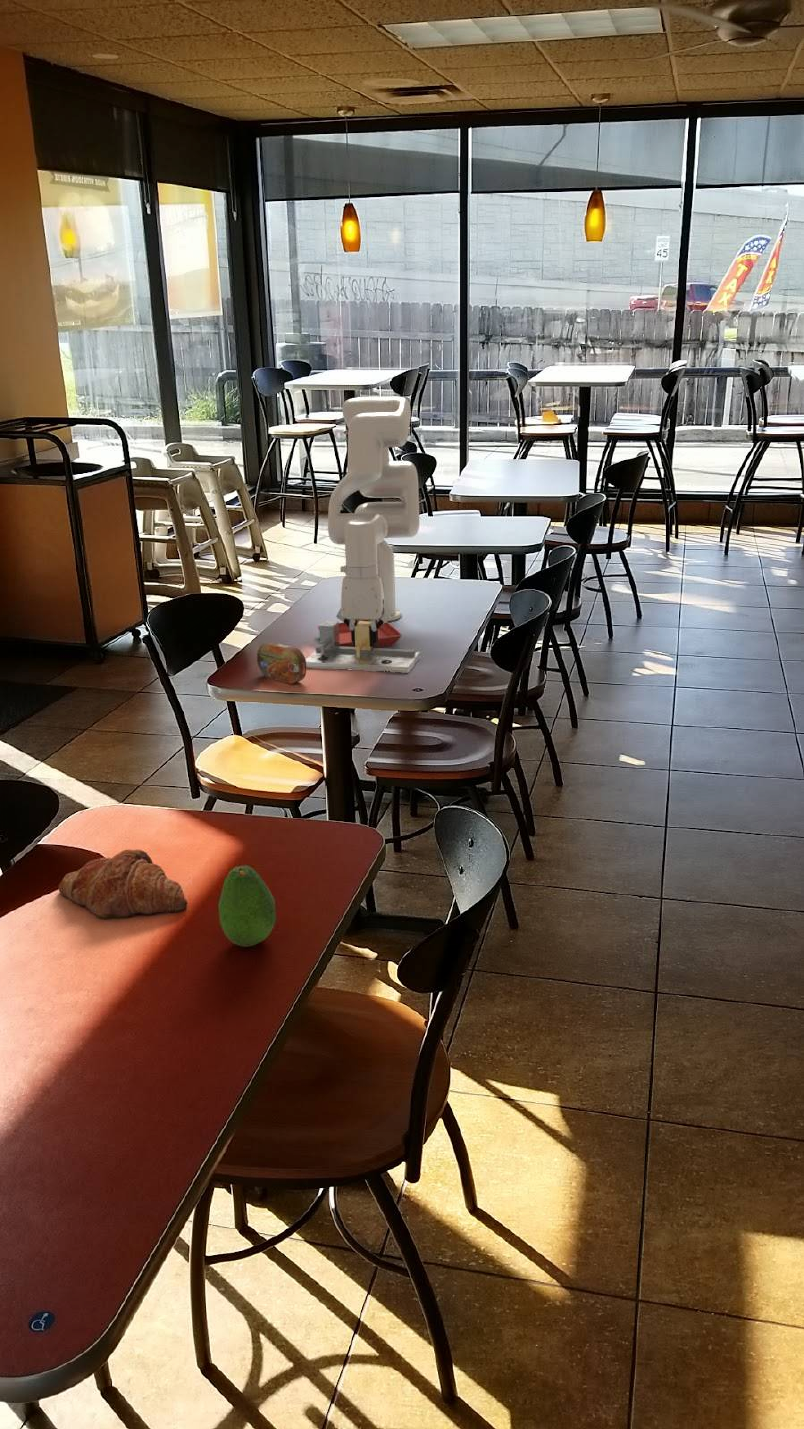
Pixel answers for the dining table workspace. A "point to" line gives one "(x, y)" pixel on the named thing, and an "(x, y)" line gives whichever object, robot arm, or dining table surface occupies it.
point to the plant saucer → (385, 635)
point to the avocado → (246, 907)
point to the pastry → (123, 887)
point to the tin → (281, 662)
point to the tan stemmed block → (362, 636)
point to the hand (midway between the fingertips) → (365, 644)
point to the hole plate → (346, 657)
